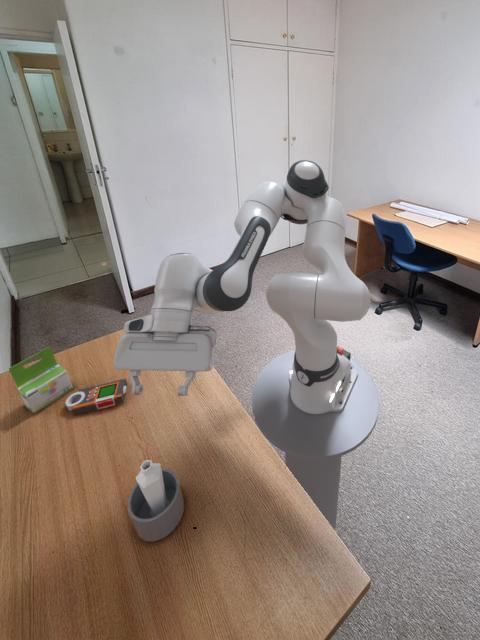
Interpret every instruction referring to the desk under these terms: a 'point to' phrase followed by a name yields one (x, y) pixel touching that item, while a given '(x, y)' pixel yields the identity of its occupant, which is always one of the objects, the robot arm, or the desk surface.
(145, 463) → the perfume bottle
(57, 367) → the ink box
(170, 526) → the short grey cup
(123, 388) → the electronic device
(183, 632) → the desk surface
